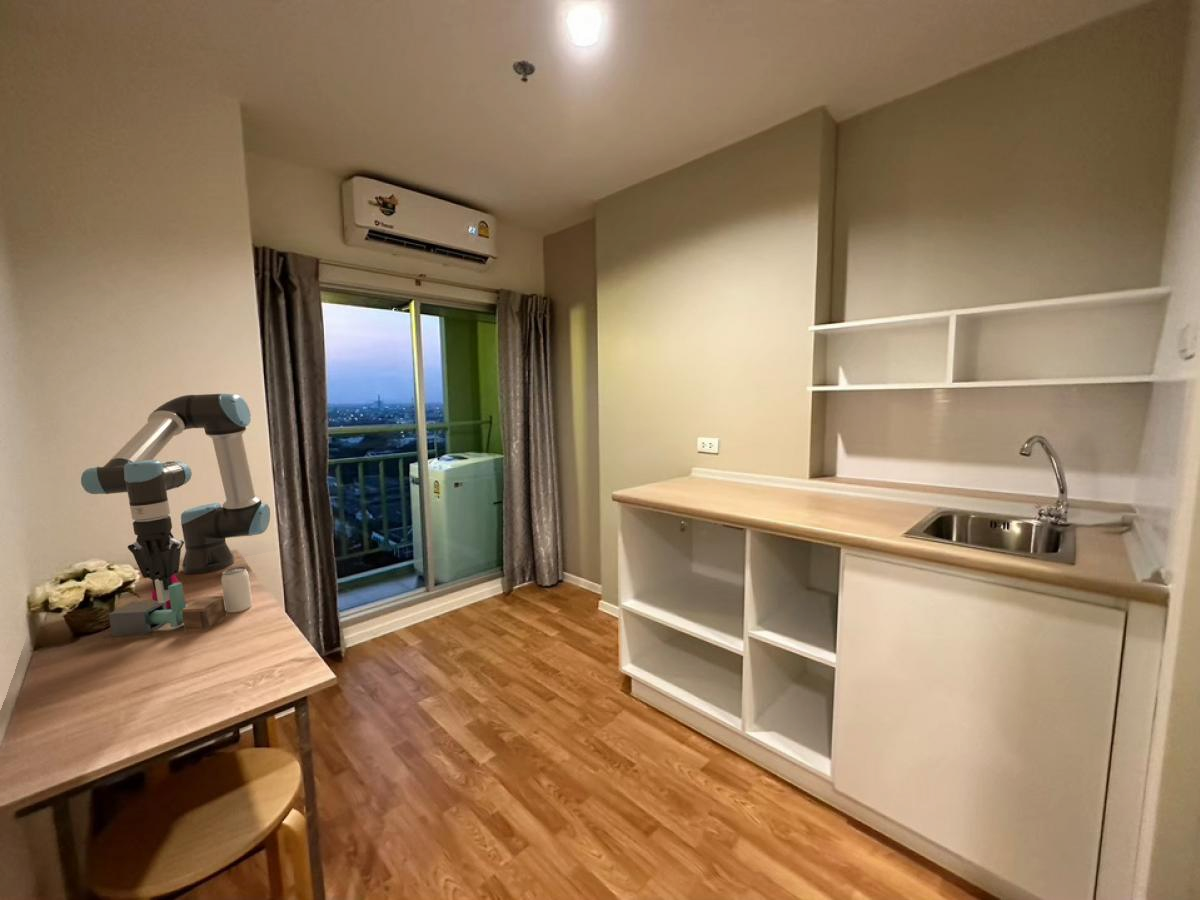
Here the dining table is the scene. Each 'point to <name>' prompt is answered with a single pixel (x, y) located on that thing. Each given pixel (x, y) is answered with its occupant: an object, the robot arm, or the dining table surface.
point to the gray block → (134, 618)
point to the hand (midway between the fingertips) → (165, 600)
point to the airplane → (176, 604)
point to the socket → (204, 614)
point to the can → (236, 589)
